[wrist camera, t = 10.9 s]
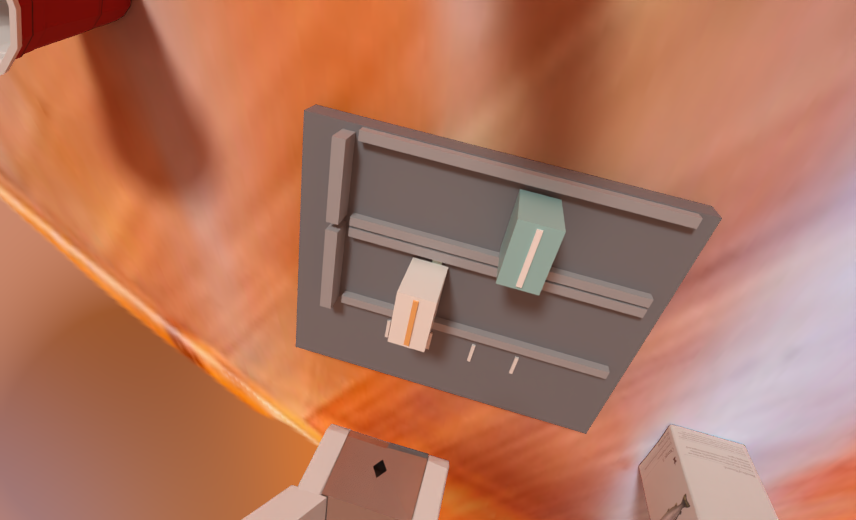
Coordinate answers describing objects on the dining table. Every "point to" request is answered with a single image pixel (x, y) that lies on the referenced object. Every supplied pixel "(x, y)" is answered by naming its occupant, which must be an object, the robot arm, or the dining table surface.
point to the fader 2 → (531, 242)
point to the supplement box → (702, 479)
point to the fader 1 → (417, 304)
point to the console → (482, 266)
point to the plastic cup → (49, 23)
